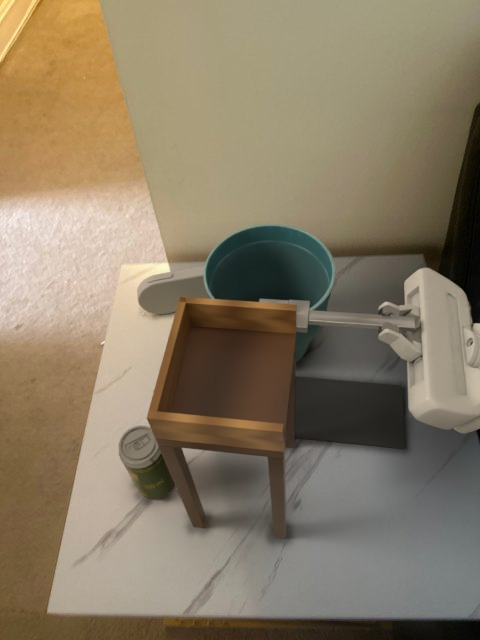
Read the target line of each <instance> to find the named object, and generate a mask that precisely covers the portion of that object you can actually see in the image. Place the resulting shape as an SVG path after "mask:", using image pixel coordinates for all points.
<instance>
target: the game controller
mask: <svg viewBox="0 0 480 640" xmlns="http://www.w3.org/2000/svg"><path fill="white" fill-rule="evenodd" d="M204 266H205V265H202V266H195V267H191V268H185V269H179V270H173V271H168V272H161V273H157V274H153V275H150V276H148V277H146V278H144V279H143V280H142V281H141V282H140V283H139V284H138V287H137V288H136V289H137V290H136V294H137V295H136V296H137V303H138V305H139V306H140V308H141V309H142V310H144V311H145V312H147V313H150V314H154V315H169V314H172V313H175V312H176V309H177V305H178V301H179V298H180V297H192V298H207V299H210V297H209V295H208V293H207V291H206V288H205V284H204V278H203V273H204Z"/></svg>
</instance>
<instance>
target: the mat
mask: <svg viewBox="0 0 480 640" xmlns="http://www.w3.org/2000/svg"><path fill="white" fill-rule="evenodd" d="M403 390H404V389H403V385H398V384H389V383H378V382H376V383H375V382H368V381H367V382H366V381H355V380H343V379H331V378H319V377H310V376H298V375H296V400H295V439H300V440H301V439H302V440H311V441H321V442H329V443H331V442H332V443H340V444H350V445H360V446H369V447H377V448H378V447H379V448H387V449H389V448H390V449H398V450H405V426H404V425H405V424H404V423H405V422H404V395H403V394H404V391H403Z"/></svg>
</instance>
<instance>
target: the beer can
mask: <svg viewBox="0 0 480 640" xmlns="http://www.w3.org/2000/svg"><path fill="white" fill-rule="evenodd" d="M118 456H119V459H120V461H121V463H122V464H123V466H124V468H125V470H126V472H127V474H128V475H129V476H130V478H131V480H132V482H133V483H134V485H135V487H136V489H137V490H138V492H139V493H140V494H141V496H142V497H144V498H146V499H148V500H160V499H163V498H164V497H167V496H168V495H169V494H170V493H171V492H172V491H173V489H174V487H175V483H174V481H173V479H172V476H171V474H170V472H169V469H168V467H167V465H166V462H165V460H164V458H163V455H162V453H161V451H160V448H159V446H158V444H157V441H156V439H155V437H154V434H153V432H152V430H151V427H150V426H147V425H142V424H141V425H136V426H133V427H130V428H129V429H127V430H126V431H125V432H124V433H123V434H122V435H121V437H120V438H119V442H118Z"/></svg>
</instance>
